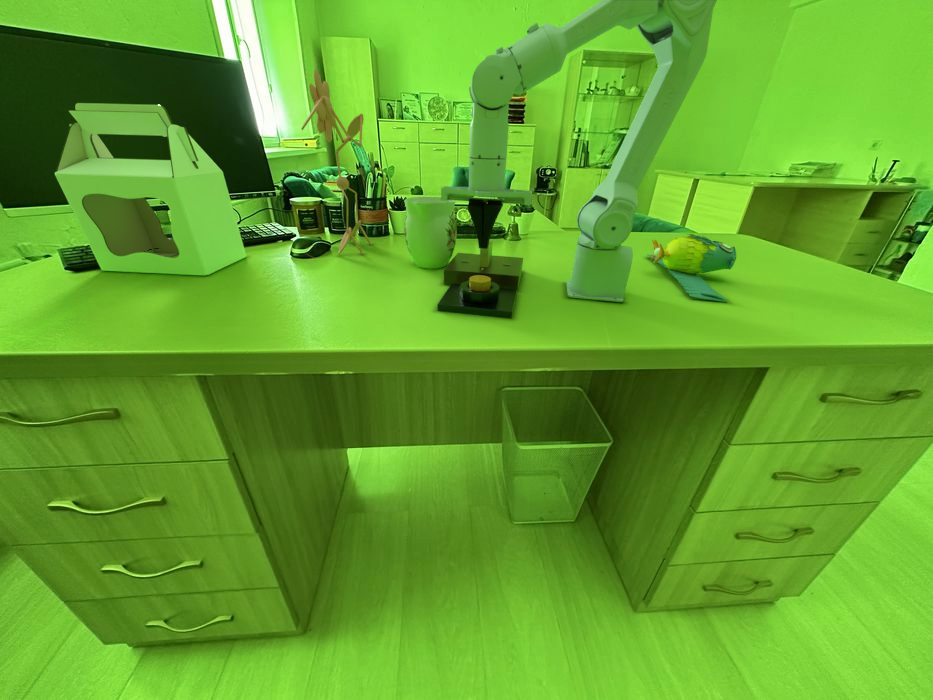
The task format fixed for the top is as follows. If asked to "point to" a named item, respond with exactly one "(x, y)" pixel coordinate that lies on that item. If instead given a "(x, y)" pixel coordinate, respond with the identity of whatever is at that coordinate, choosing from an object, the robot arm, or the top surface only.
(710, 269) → the toy bird
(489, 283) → the button
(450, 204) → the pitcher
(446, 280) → the panel
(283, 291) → the top surface
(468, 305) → the button box
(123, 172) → the gable box
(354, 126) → the figurine
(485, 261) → the tan block
